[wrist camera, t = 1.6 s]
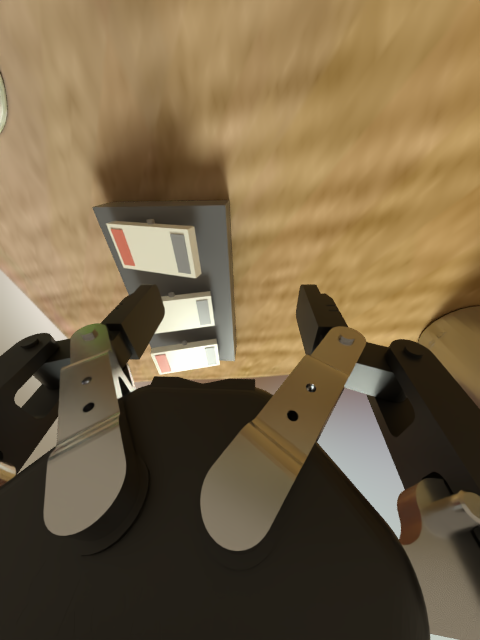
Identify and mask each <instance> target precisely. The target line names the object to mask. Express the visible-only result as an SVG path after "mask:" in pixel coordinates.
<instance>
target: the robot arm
mask: <svg viewBox="0 0 480 640" xmlns="http://www.w3.org/2000/svg"><path fill="white" fill-rule="evenodd" d="M164 315H165V308H164V305H163V301H162V298H161V295H160V292H159V289H158V287H157V285H155V284H142V285H140V286H139V287H138V288H137V289H136V291H135V292H134V293H132V294H130V295H129V296H127V297H125V298H124V299H123V300H122V301H121V302H120V303H119V305H117V307H116V308H115V309H114V310H113V311H112V312H111V313H110V314H109V315H108V316H107V317H106V318H105V319H104V320H103V321H102V322H101V323H100V324H91V325H88V326H85V327H83V328H81V329H79V330H78V331H76V332H75V333H74V334H73V335H72V336H71V339H66V340H61V341H55V340H54V339H53V337H52V336H51V335H50V334H48V333H40V334H35V335H32V336H29V337H27V338H25V339H23V340H21V341H19V342H18V343H16V344H15V345H14V346H13V347H11V348H10V349H9V350H8V351H6V352H5V353H4V354H3V355H1V356H0V640H430V634H435V635H440V636H444V637H449V638H454V639H459V640H480V306H474V307H468V308H464V309H460V310H457V311H454V312H452V313H449V314H447V315H445V316H443V317H441V318H440V319H438V320H436V321H435V322H433V323H432V324H431V325H430V326H429V327H427V328H426V329H425V331H424V332H423V333H422V335H421V336H420V338H419V342H418V343H416V342H414V341H410V340H404V339H399V340H395V341H393V342H392V343H391V344H390V346H389V347H385V346H380V345H376V344H372V343H368V342H366V339H365V337H364V336H363V335H362V334H361V333H360V332H358V331H356V330H354V329H352V328H349V327H348V326H347V324H346V322H345V320H344V318H343V317H342V315H341V313H340V311H339V310H338V308H337V306H336V304H335V302H334V301H333V299H332V298H331V297H329V296H328V295H327V294H320V292H319V289H318V287H317V285H301V286H300V291H299V297H298V302H297V308H296V319H297V323H298V327H299V331H300V334H301V338H302V342H303V346H304V350H305V354H306V355H305V356H304V357H303V358H302V360H301V361H300V362H299V363H298V365H297V366H296V367H295V368H294V370H293V371H292V372H291V374H290V375H289V376H288V377H287V379H286V380H285V381H284V382H283V384H282V385H281V386H280V388H279V389H278V390H277V391H276V393H275V394H274V395H272V394H270V393H268V392H267V391H264V390H262V389H259V388H256V387H255V379H225V380H220V381H216V382H211V383H204V384H201V383H197V382H194V381H190V380H187V379H183V378H180V377H157V376H154V378H153V381H152V383H151V385H147V386H144V387H141V388H138V389H136V388H135V385H134V381H133V378H132V374H131V371H130V368H129V365H128V364H127V362H128V360H129V359H140V358H141V356H142V354H143V353H144V351H145V349H146V347H147V346H148V344H149V342H150V341H151V339H152V337H153V335H154V334H155V332H156V330H157V328H158V327H159V325H160V323H161V322H162V320H163V318H164ZM32 375H33V376H35V378H36V379H38V380H39V381H40V382H41V383H42V385H41V386H40V387H39V388H38V389H37V391H36V392H35V393H34V394H33V395H32V397H31V398H30V399H29V400H28V401H27V402H26V403H25V404H24V405H23V406H22V408H20V407H19V406H17V405H16V404H15V401H14V397H15V394H16V392H17V391H18V390H19V389H20V388H21V387H22V385H24V384H25V382H27V380H28V379H29V378H30V377H31V376H32ZM344 388H348V389H351V390H354V391H358V392H361V393H365V394H366V395H367V397H368V400H369V402H370V405H371V407H372V409H373V412H374V415H375V417H376V420H377V422H378V424H379V427H380V429H381V432H382V434H383V437H384V439H385V442H386V444H387V447H388V449H389V452H390V454H391V456H392V459H393V461H394V464H395V466H396V469H397V471H398V474H399V476H400V479H401V481H402V483H403V486H404V489H405V490H404V491H403V492H401V493H400V495H399V497H398V500H397V510H398V514H399V518H400V523H401V535H400V539H398V538H397V536H396V535H395V533H394V532H393V530H392V529H391V528H390V526H389V525H388V524H387V523H386V522H385V520H384V519H383V518H382V517H381V516H380V514H379V513H378V512H377V511H376V510H375V509H374V507H372V505H371V504H370V503H369V502H368V501H367V499H366V498H365V497H364V496H363V495H362V494H361V493H360V491H359V490H358V489H357V488H356V487H355V486H354V484H353V483H352V482H351V481H350V480H349V479H348V478H347V476H346V475H345V474H344V473H343V472H342V471H341V469H340V468H339V467H338V466H337V465H336V464H335V463H334V461H333V460H332V459H331V458H330V457H329V456H328V454H327V453H326V452H325V451H324V450H323V449H322V448H321V446H320V445H319V444H318V443H317V441H318V439H319V437H320V435H321V433H322V431H323V429H324V427H325V425H326V423H327V421H328V419H329V417H330V415H331V413H332V411H333V409H334V408H335V406H336V404H337V402H338V400H339V398H340V396H341V394H342V392H343V390H344ZM57 417H58V429H57V445H56V447H54V448H53V449H51V450H50V451H48V452H47V453H46V454H44V455H43V456H42V457H40V458H39V459H38V460H36V461H35V462H34V463H32V464H31V465H29V466H28V467H27V468H25V469H24V470H23V471H21V472H20V473H19V474H17V473H18V472H19V471H20V469H21V468H22V466H23V465H24V463H25V462H26V461H27V459H28V458H29V457H30V455H31V454H32V452H33V451H34V450H35V448H36V447H37V445H38V444H39V442H40V441H41V440H42V438H43V437H44V435H45V434H46V433H47V431H48V430H49V428H50V427H51V426H52V424H53V423H54V421H55V420H56V419H57Z"/></svg>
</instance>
